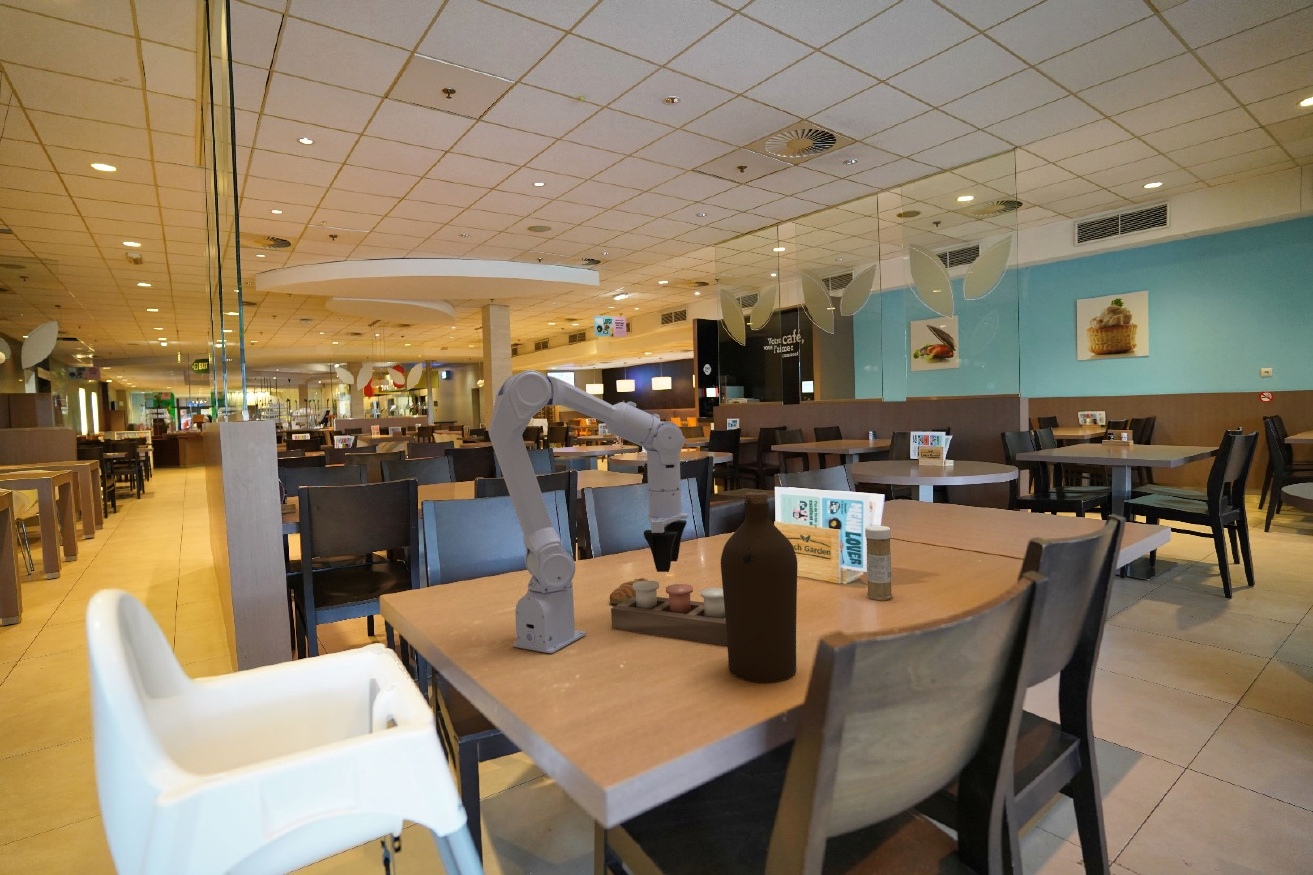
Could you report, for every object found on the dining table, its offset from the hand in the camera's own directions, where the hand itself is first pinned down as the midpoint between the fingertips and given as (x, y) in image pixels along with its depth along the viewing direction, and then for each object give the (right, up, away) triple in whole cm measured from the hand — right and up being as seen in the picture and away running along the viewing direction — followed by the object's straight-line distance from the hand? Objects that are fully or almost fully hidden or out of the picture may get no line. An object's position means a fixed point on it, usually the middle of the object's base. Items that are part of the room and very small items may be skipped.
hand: (667, 566), depth 116 cm
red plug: (+2, -7, -5) cm, 8 cm away
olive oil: (+13, -10, -23) cm, 29 cm away
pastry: (-7, -10, +14) cm, 18 cm away
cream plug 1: (-4, -7, -2) cm, 8 cm away
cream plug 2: (+8, -7, -8) cm, 13 cm away
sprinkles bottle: (+40, -8, +8) cm, 42 cm away
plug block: (+2, -10, -5) cm, 11 cm away
